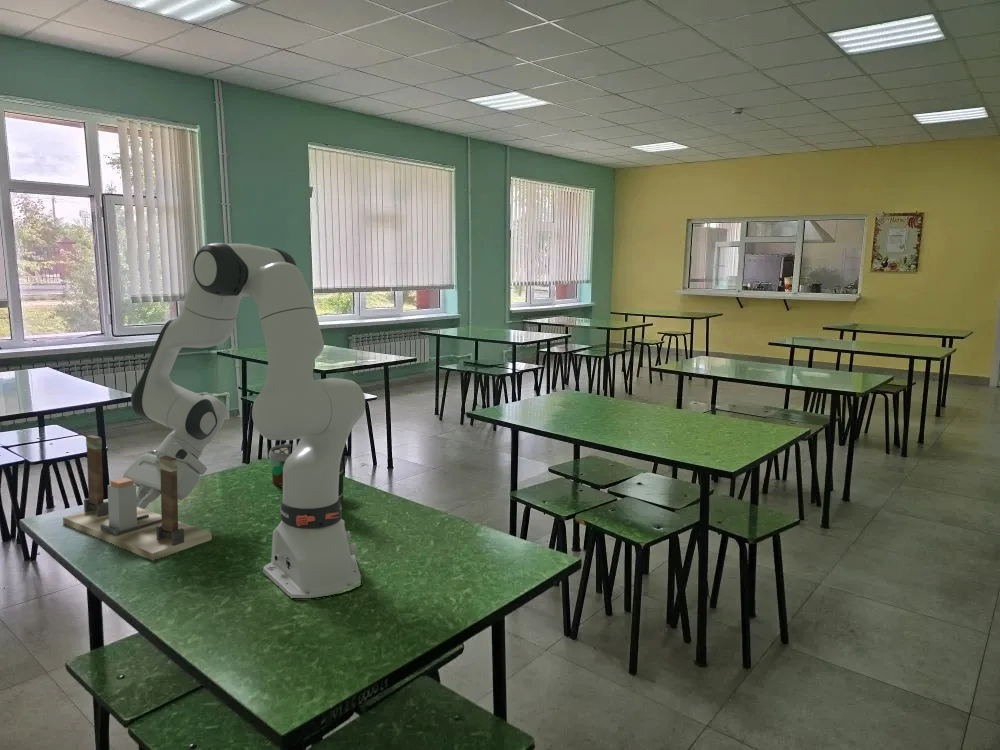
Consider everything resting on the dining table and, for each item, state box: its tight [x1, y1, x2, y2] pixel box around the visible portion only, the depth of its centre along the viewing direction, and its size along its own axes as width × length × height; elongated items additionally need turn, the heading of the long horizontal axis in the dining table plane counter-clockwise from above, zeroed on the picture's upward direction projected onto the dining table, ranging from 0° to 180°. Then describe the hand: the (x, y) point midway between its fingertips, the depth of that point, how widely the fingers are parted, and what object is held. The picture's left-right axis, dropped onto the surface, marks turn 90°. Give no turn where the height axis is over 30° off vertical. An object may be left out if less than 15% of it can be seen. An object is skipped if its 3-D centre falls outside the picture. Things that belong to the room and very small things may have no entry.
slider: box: [107, 477, 137, 532], centre depth 149 cm, size 4×4×11 cm
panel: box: [62, 497, 213, 562], centre depth 152 cm, size 34×14×5 cm, turn 60°
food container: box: [267, 443, 292, 487], centre depth 191 cm, size 12×6×10 cm, turn 17°
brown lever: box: [160, 456, 179, 539], centre depth 143 cm, size 2×4×18 cm, turn 60°
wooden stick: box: [85, 434, 104, 511], centre depth 157 cm, size 2×4×18 cm, turn 60°
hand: (137, 506), depth 152 cm, fingers closed
